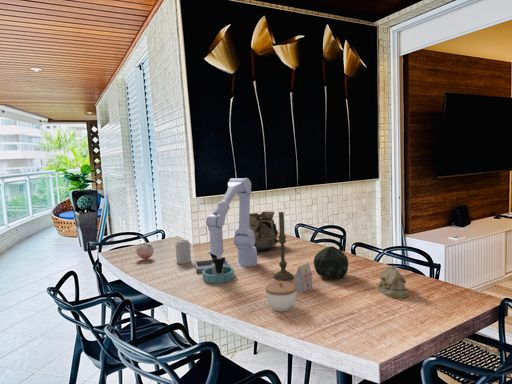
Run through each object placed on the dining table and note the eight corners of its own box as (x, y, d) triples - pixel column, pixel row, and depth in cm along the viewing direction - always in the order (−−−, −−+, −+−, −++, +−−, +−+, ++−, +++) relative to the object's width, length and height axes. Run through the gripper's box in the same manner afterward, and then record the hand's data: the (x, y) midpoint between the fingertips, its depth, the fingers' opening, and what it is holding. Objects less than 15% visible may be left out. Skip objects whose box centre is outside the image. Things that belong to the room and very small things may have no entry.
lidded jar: (264, 303, 132) (263, 278, 131) (293, 300, 133) (292, 276, 132) (268, 315, 121) (267, 288, 120) (299, 313, 122) (298, 286, 121)
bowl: (231, 271, 170) (230, 264, 170) (236, 281, 157) (236, 273, 156) (201, 275, 167) (201, 267, 167) (204, 285, 153) (204, 277, 153)
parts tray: (225, 262, 186) (225, 258, 185) (230, 270, 172) (229, 265, 172) (194, 266, 182) (194, 261, 182) (197, 274, 168) (196, 269, 168)
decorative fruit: (157, 257, 202) (155, 240, 201) (151, 261, 194) (150, 243, 193) (141, 257, 203) (139, 240, 202) (134, 261, 195) (133, 243, 194)
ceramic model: (372, 286, 145) (372, 262, 144) (399, 284, 146) (399, 260, 145) (387, 299, 131) (387, 273, 130) (417, 297, 132) (417, 271, 131)
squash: (329, 256, 169) (317, 237, 161) (358, 263, 159) (346, 243, 150) (316, 282, 163) (302, 263, 155) (345, 291, 152) (332, 271, 144)
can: (187, 265, 184) (186, 242, 183) (174, 265, 186) (172, 242, 184) (193, 261, 191) (191, 239, 190) (180, 260, 193) (178, 239, 192)
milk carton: (295, 290, 143) (294, 266, 142) (304, 286, 148) (304, 262, 147) (302, 293, 140) (302, 268, 139) (312, 288, 145) (311, 263, 144)
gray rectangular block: (222, 275, 164) (221, 262, 164) (223, 277, 160) (222, 264, 160) (212, 276, 163) (211, 263, 163) (213, 279, 159) (212, 265, 159)
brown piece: (256, 242, 229) (254, 209, 227) (288, 246, 215) (287, 210, 213) (231, 251, 208) (229, 215, 207) (264, 256, 195) (263, 217, 193)
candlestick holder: (295, 274, 162) (293, 209, 160) (291, 281, 154) (288, 212, 151) (276, 273, 165) (274, 209, 163) (270, 279, 157) (268, 212, 154)
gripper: (205, 238, 166) (207, 266, 168) (209, 245, 152) (211, 276, 154) (220, 237, 168) (222, 265, 169) (225, 243, 154) (227, 274, 155)
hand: (218, 270), depth 161 cm, fingers open, 7 cm apart
